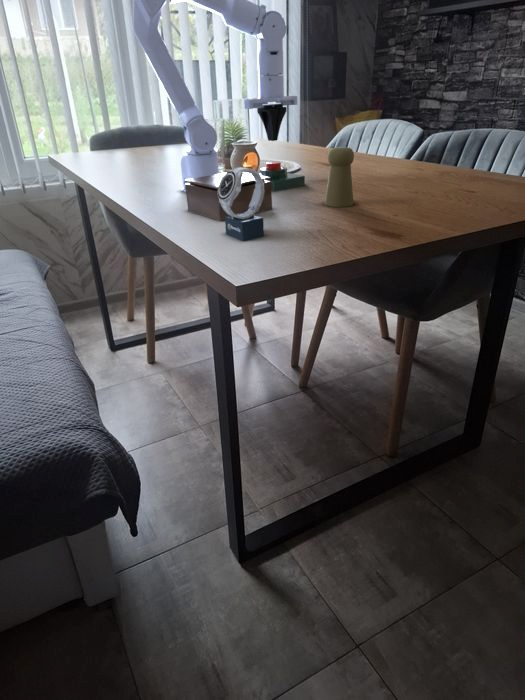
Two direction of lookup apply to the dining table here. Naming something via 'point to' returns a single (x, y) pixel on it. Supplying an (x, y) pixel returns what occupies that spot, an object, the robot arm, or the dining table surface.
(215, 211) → the carton
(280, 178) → the button box
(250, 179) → the flap
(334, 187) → the olive green tall piece
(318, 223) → the dining table surface
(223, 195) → the watch
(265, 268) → the dining table surface
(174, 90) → the robot arm
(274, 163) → the button
